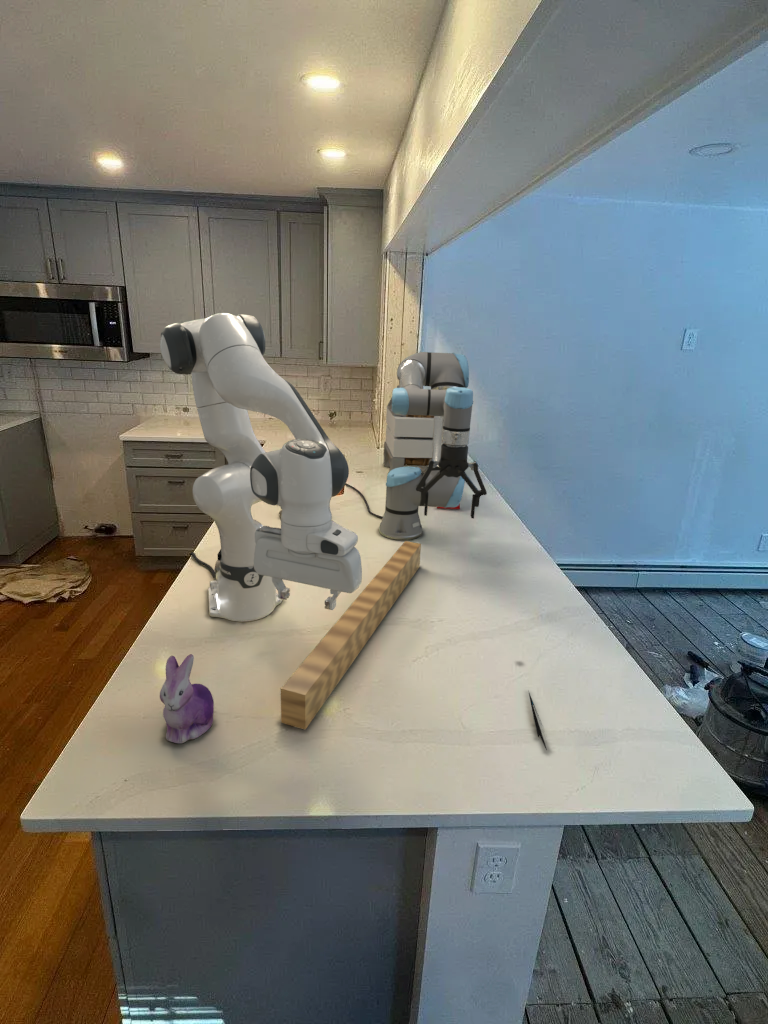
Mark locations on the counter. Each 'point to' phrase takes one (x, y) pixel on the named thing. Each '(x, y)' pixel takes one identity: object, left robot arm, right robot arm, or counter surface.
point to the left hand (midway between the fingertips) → (306, 603)
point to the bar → (346, 639)
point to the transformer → (407, 439)
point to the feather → (536, 721)
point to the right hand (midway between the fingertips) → (448, 515)
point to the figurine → (185, 702)
